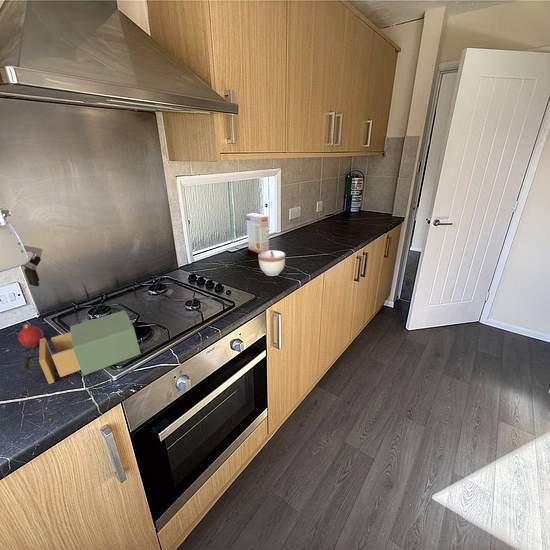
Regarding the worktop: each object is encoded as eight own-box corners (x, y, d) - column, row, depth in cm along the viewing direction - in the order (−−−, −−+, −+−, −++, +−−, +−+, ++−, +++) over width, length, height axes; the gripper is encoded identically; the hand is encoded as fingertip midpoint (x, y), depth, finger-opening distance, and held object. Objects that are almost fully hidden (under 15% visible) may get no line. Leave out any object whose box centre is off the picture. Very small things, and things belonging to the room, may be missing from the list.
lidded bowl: (276, 280, 131) (275, 257, 126) (253, 274, 137) (252, 252, 133) (290, 270, 140) (290, 248, 136) (268, 266, 147) (267, 245, 142)
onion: (29, 342, 93) (19, 320, 89) (50, 339, 94) (41, 317, 91) (19, 353, 87) (9, 331, 84) (41, 350, 89) (32, 327, 86)
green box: (83, 376, 78) (72, 348, 74) (79, 352, 87) (69, 326, 84) (140, 354, 85) (134, 327, 82) (131, 334, 95) (125, 310, 91)
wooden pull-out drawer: (27, 392, 72) (16, 368, 69) (29, 367, 80) (19, 345, 77) (108, 362, 81) (101, 340, 78) (102, 342, 90) (95, 322, 87)
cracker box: (270, 253, 165) (268, 216, 157) (261, 255, 162) (259, 217, 154) (256, 247, 176) (254, 212, 167) (248, 249, 172) (245, 213, 164)
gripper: (18, 211, 69) (42, 277, 76) (-88, 227, 55) (-47, 307, 62) (36, 213, 66) (60, 281, 73) (-72, 231, 52) (-30, 314, 59)
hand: (11, 293), depth 67 cm, fingers open, 9 cm apart
